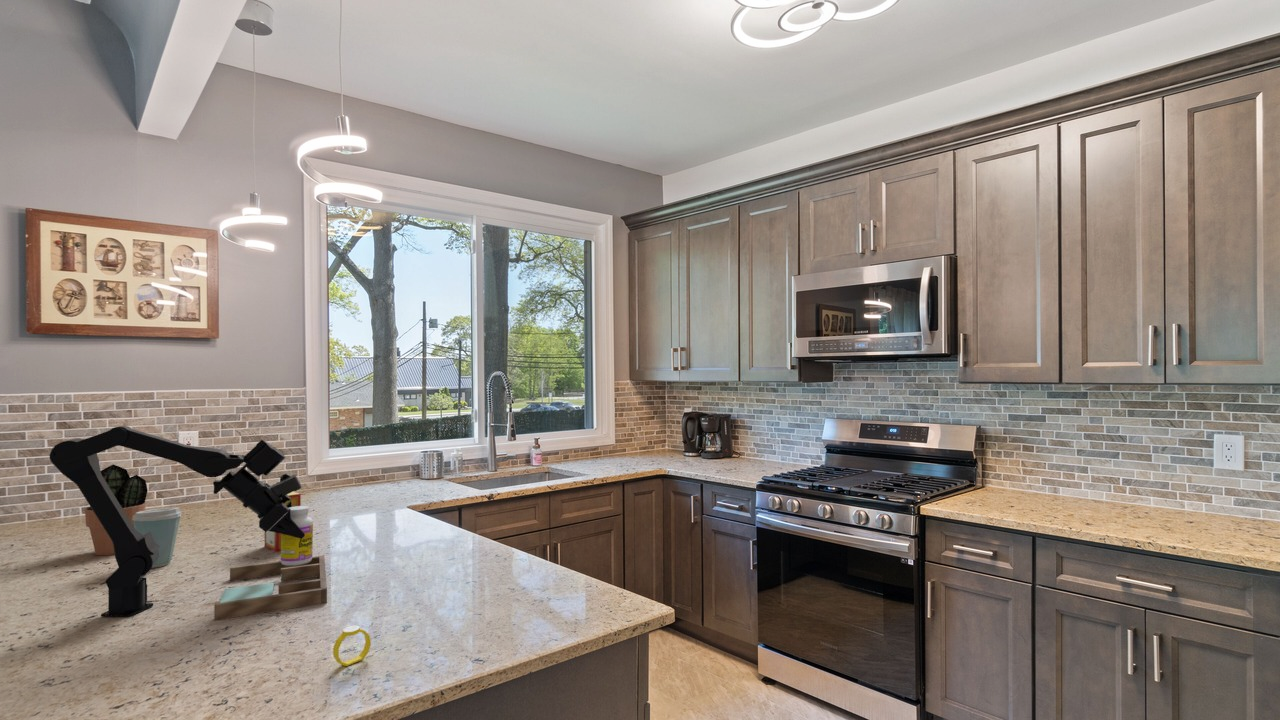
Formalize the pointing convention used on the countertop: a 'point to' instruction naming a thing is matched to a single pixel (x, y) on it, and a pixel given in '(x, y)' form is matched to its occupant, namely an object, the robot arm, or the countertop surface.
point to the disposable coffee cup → (160, 530)
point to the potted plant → (128, 496)
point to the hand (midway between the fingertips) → (303, 533)
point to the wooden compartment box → (261, 595)
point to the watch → (348, 632)
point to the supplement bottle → (298, 539)
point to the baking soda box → (275, 538)
